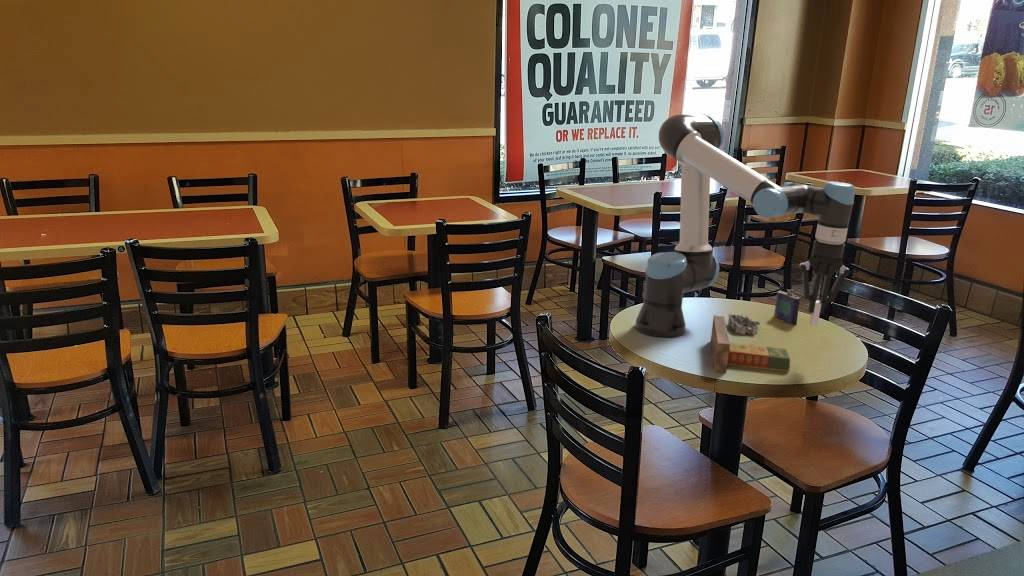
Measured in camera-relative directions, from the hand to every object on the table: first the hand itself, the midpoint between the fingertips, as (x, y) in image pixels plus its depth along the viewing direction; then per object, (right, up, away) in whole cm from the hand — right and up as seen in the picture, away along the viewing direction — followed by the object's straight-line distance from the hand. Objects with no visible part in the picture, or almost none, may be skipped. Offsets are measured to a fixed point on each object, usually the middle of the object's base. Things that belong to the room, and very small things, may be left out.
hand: (813, 324), depth 203 cm
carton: (-15, -11, +1) cm, 19 cm away
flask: (+6, -1, +38) cm, 39 cm away
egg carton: (-11, -3, +29) cm, 31 cm away
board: (-25, -9, +5) cm, 27 cm away
